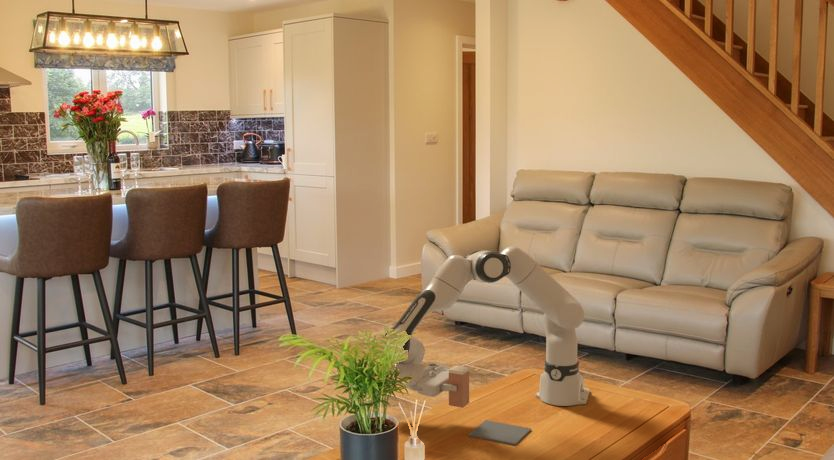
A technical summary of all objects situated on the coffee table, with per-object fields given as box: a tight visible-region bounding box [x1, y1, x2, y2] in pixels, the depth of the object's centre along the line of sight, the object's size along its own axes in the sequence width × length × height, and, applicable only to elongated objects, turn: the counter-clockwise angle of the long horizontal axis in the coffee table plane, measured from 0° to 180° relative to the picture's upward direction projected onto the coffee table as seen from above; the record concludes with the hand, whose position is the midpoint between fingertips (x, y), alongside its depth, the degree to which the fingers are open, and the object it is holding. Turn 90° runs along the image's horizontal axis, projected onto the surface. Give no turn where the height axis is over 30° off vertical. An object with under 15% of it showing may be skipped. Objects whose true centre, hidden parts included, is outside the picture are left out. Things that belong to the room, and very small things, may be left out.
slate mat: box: [467, 419, 532, 446], centre depth 255 cm, size 14×16×1 cm
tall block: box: [448, 365, 470, 409], centre depth 258 cm, size 5×5×12 cm
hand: (461, 385), depth 257 cm, fingers closed on tall block, 5 cm apart
